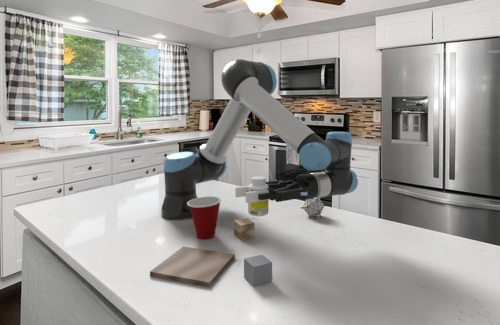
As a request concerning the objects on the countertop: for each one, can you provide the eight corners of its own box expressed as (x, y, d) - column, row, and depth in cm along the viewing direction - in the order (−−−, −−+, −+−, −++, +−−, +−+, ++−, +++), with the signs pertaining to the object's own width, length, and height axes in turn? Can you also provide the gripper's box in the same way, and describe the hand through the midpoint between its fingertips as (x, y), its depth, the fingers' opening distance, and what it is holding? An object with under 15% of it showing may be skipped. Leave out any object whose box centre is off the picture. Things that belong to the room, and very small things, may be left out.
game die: (317, 227, 127) (326, 211, 121) (296, 218, 129) (304, 202, 122) (322, 210, 134) (331, 194, 127) (301, 201, 135) (309, 185, 128)
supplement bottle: (272, 215, 92) (272, 178, 91) (253, 218, 90) (254, 180, 88) (262, 209, 97) (262, 174, 96) (244, 212, 95) (244, 176, 93)
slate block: (253, 287, 78) (253, 266, 77) (244, 277, 83) (243, 258, 82) (272, 282, 80) (272, 262, 80) (262, 273, 85) (262, 254, 84)
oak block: (240, 240, 106) (240, 225, 105) (234, 235, 110) (233, 220, 109) (254, 237, 108) (254, 222, 107) (247, 232, 112) (247, 218, 111)
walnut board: (150, 276, 83) (149, 271, 83) (183, 250, 98) (183, 246, 98) (209, 287, 78) (209, 282, 78) (234, 258, 93) (234, 254, 93)
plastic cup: (189, 230, 114) (188, 195, 112) (221, 229, 115) (221, 195, 113) (186, 243, 103) (184, 205, 101) (221, 242, 104) (221, 204, 102)
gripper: (331, 206, 93) (257, 218, 83) (293, 191, 109) (227, 200, 99) (333, 179, 92) (257, 188, 82) (294, 168, 108) (227, 174, 98)
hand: (241, 194), depth 90 cm, fingers closed on supplement bottle, 6 cm apart
